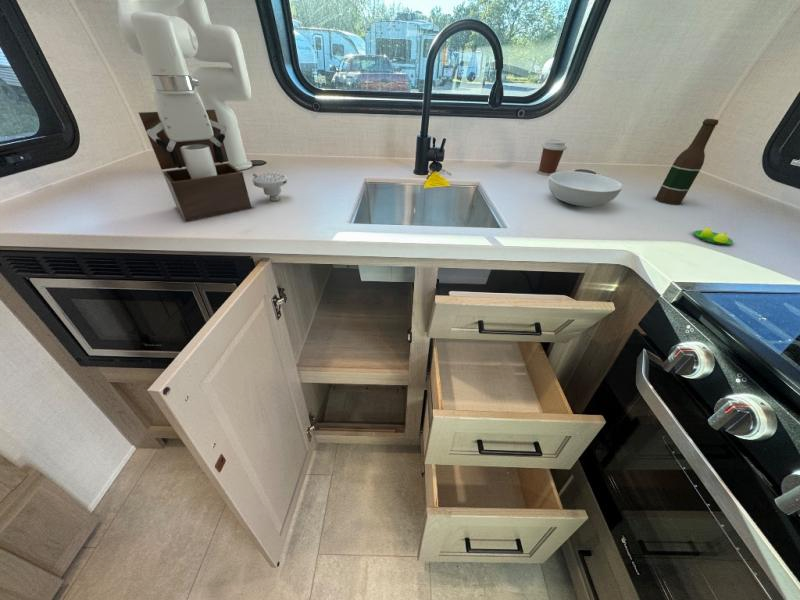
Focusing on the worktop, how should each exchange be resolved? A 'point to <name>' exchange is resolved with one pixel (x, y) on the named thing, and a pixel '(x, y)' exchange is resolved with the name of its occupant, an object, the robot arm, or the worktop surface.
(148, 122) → the lid
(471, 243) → the worktop surface
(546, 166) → the coffee cup
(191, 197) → the chest
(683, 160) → the beer bottle
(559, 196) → the serving bowl
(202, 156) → the drinking glass
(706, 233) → the green disc yellow mounds
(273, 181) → the showerhead
